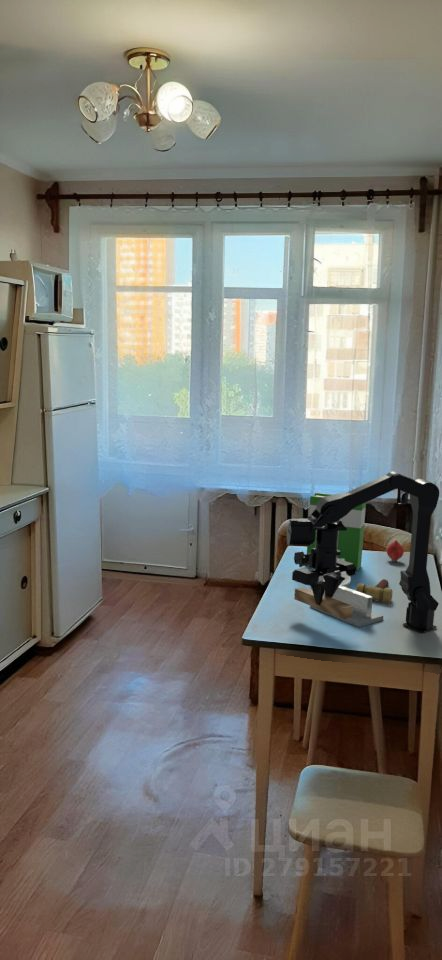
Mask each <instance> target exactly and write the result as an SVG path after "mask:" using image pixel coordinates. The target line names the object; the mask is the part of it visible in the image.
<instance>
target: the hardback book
mask: <svg viewBox="0 0 442 960" xmlns="http://www.w3.org/2000/svg"><path fill="white" fill-rule="evenodd" d="M330 495H333V494H331V493H321V492H315V493H314V495H310V500H309V511H308V512H309V514H308V515H309V516H310V515H311V514H312V512H313V511H314V510H315V509H316V505H317V503H318V501H319V500H320V499H321V498H323V497H326V496H330ZM366 507H367V502H366V503H364V504H361V505H359V506H357V507H355V508H354V509H352V510H351V511H350V512H349V513H348V514H347V515H346V516H344V517H343V518H341V519H340V520H341V521H342V523H343V525H344V526H345V527H346V528H347V530H346V531H339V535H338V549H337V550H339V551H341V555H337V558H339V559H342V558H344V559H345V561H347V562H350V563H353V564H354V565H355V567H356V573H357V572H358V571H359V570H360V568H361V567H362V561H363V560H362V557H363V556H362V555H363V546H364V532H365V522H366V521H365V519H366V518H365V517H366ZM309 516H308V517H309ZM334 523H335V522H334ZM315 545H316V530H315V541H314V542H313V544H311V545H310V546H306V554H309V553H311V550H312V548H315Z"/></svg>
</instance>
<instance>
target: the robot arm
mask: <svg viewBox="0 0 442 960" xmlns="http://www.w3.org/2000/svg"><path fill="white" fill-rule="evenodd" d="M394 490H399V491H402V492H404V493H405V494H408V495H409V501H410V506H411V510H412V523H411V538H410V546H409V547H410V548H409V549H410V550H409V561H408V566H407V567H406V570H400V581H399V583H398V585H399V586H400V588H401V591H402V592H403V594H405V595H406V597H407V600H408V601H409V602H408V603H407V604H408V605H407V607H406V611H405V612H406V613H405V622H404V623H402V626H403V627H405V628H408V629H412V631H413V630H414V631H416V632H418V633H427V632H430V631H432V630H436V629H437V625H434V621H435V611H437V608H438V606H439V604H440V603H439V602H438V601H437V600H436V599H435V598H434V597H433V595H432V594H431V592H432V590H431V582H430V577H429V573H428V570H427V565H428V558H429V557H428V556H429V546H430V532H431V521H432V516H433V513H434V511H435V510H436V508H437V505H438V502H439V498H440V494H441V493H440V489H439V487H438V486H437V485H436V484H435V483H433V482H431V481H429V480H426V479H425V478H417V479H414V478H411V477H408V476H405V475H403V474H400V473H398V472H397V471H389V472H388V473H387V474H385V475H383V476H382V475H381V476H380V477H378V478H375V479H374V480H371V481H369V482H367V483H365V484H362V485H361V486H358V487H356V488H353V489H352V490H348V491H346V492H343V493H334V494H332V495H330V496H326V497H323V498H321V499H320V500H319V501H318V503H317V505H316V509H315V510H314V511H313V512H312V514H311V515H310V516H308V517H307V519H295V518H290V519H289V523H288V526H287V529H286V543H287V546H291V547H292V546H295V547H296V546H297V547H305V546H306V547H307V546H310V545H311V544H313V542H314V541H315V530H316V545H315V548H312V550H311V553H309V554H307V553H305V552H304V551H297V552H294V556H293V560H294V561H293V562H294V564H295V565H298V566H299V568H296V569H294V570H293V571H292V574H291V575H292V576H291V580H292V581H294V582H296V583H300V584H302V585H304V586H310V588H311V590H312V591H313V595H314V598H315V601H316V604H317V605H320V604H321V601H322V598H323V595H324V591H325V595H326V596H328V597H331V598H332V597H333V595H334V593H335V592H336V590H337V589H338V587H339V586H340V584H341V583H342V581H343V580H345V578H344V577H341V572H344V571H345V572H346V574H347V575H348V576H350V577H351V576H352V577H353V576H355V575H357V572H356V567H355V565H354V564H353V563H350V562H347V561H344V560H339V561H337V555H341V551H339V550H337V549H338V535H339V531H346V530H347V528H346V527H345V526H344V525H343V523H342V521H341V520H340V519H341V518H343V517H344V516H346V515H347V514H348V513H349V512H350V511H351V510H352V509H354V508H355V507H357V506H359V505H361V504H364V503H366V504H367V503H368V502H370V501H372V500H374V499H377V498H379V497H381V496H383V495H386V494H387V493H391V492H392V491H394ZM334 522H335V523H334ZM307 567H308V568H307ZM312 569H314V570H312ZM323 578H324V580H325V582H324V581H323Z"/></svg>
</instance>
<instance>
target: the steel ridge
mask: <svg viewBox="0 0 442 960" xmlns="http://www.w3.org/2000/svg"><path fill="white" fill-rule="evenodd" d="M324 595H325V591H324ZM332 598H334V599H336V600H339V601H341V602H344V603H347V604H349V605H352V606H353V614H355V615H358V616H360V617H363V618H366V619H367V618H371V612H373V611H372V610H373V601H374V600H373V597H372V596H369V595H366V594H363V593H361V592H358V591H356V589H351V588H349V587H348V586H347V587H344V586H341V585H340V586H339V587H338V589H337V590H336V592H335V593H334V595H333V597H332Z"/></svg>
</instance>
